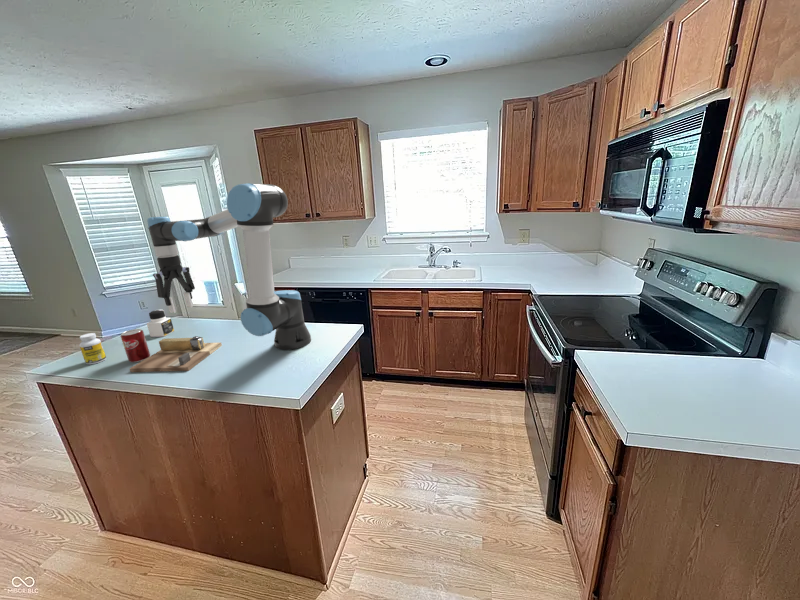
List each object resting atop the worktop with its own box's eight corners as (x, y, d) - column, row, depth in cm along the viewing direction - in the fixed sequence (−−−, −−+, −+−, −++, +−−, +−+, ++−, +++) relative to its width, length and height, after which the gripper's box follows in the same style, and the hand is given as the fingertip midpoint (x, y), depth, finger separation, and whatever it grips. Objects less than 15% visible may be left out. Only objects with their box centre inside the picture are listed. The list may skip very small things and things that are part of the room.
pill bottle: (83, 366, 132) (73, 339, 129) (89, 360, 138) (79, 334, 134) (104, 362, 135) (95, 336, 132) (108, 356, 141) (100, 330, 137)
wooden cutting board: (221, 345, 145) (219, 336, 144) (188, 370, 124) (185, 359, 123) (171, 347, 146) (169, 337, 145) (130, 372, 125) (127, 361, 124)
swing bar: (206, 345, 141) (203, 334, 140) (199, 349, 137) (196, 339, 135) (167, 346, 142) (164, 336, 141) (159, 351, 138) (156, 340, 137)
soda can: (139, 363, 132) (130, 335, 129) (124, 362, 134) (115, 335, 130) (155, 355, 139) (147, 328, 135) (141, 354, 140) (132, 328, 137)
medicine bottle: (164, 336, 159) (158, 313, 156) (150, 337, 159) (143, 313, 156) (174, 330, 166) (168, 308, 163) (160, 331, 166) (154, 308, 163)
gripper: (184, 251, 145) (197, 302, 151) (135, 260, 127) (152, 316, 134) (196, 252, 142) (208, 303, 148) (147, 260, 124) (164, 318, 131)
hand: (181, 309), depth 141 cm, fingers open, 7 cm apart
